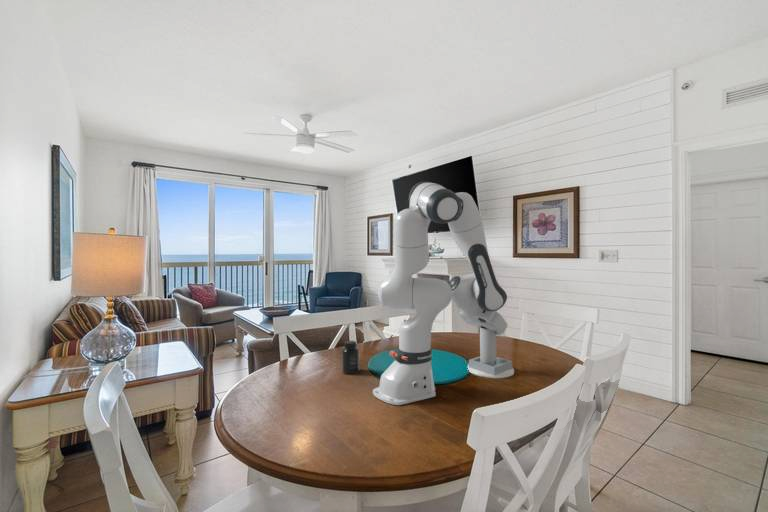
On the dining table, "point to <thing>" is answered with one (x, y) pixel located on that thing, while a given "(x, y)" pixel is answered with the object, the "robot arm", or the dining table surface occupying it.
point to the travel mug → (488, 346)
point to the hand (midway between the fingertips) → (492, 331)
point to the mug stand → (491, 368)
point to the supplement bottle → (350, 358)
